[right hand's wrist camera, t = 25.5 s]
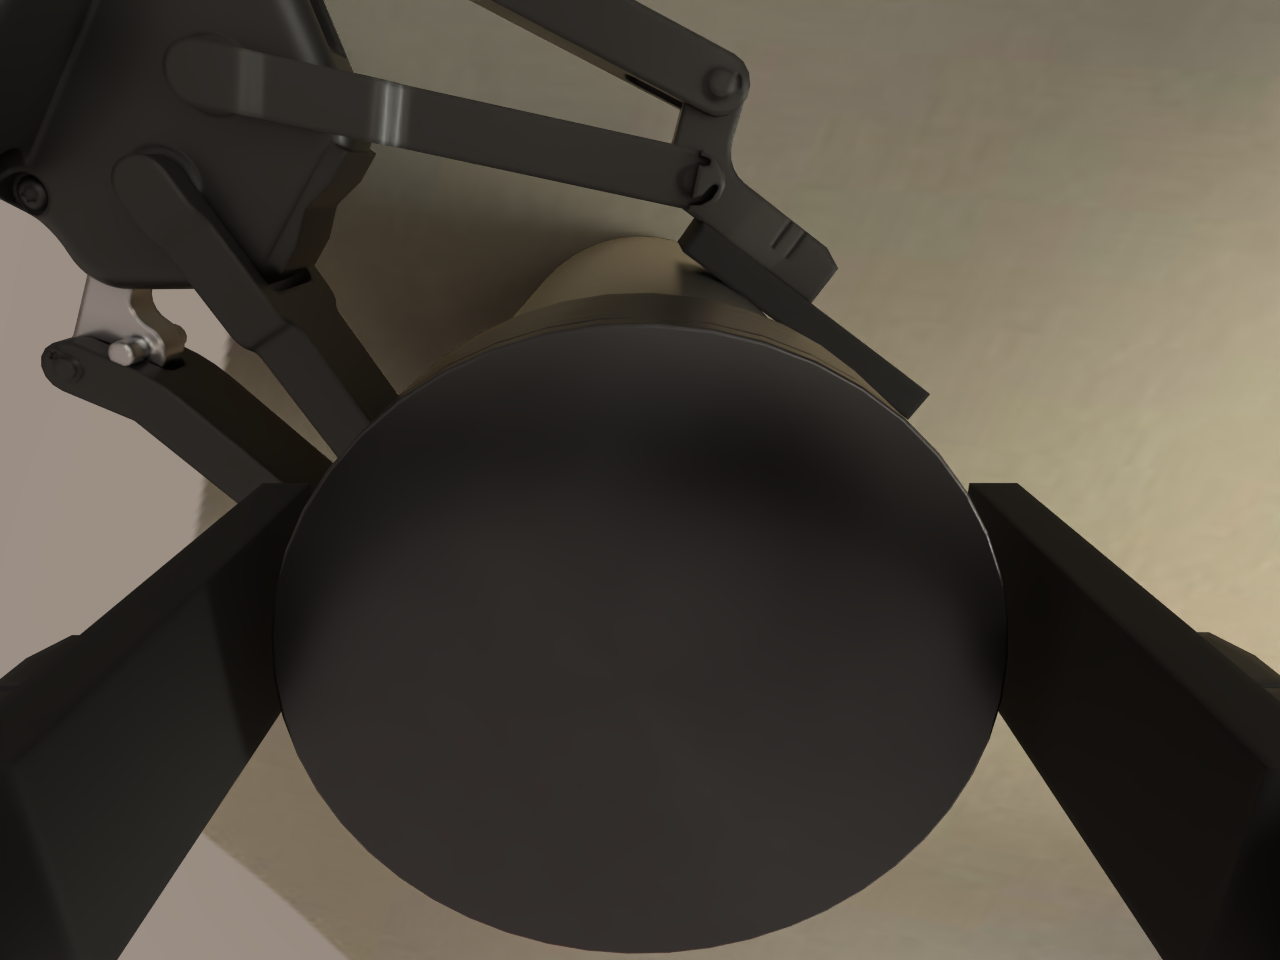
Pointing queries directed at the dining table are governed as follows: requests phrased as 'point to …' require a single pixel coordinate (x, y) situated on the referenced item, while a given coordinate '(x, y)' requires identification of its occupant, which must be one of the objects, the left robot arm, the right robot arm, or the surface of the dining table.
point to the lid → (639, 629)
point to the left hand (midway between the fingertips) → (787, 524)
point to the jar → (633, 275)
